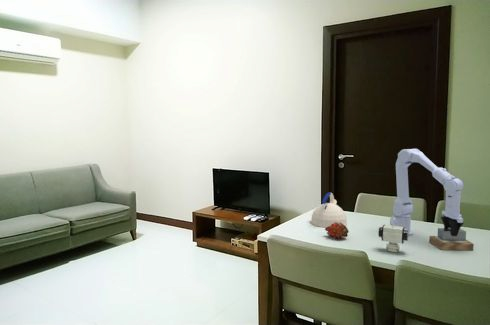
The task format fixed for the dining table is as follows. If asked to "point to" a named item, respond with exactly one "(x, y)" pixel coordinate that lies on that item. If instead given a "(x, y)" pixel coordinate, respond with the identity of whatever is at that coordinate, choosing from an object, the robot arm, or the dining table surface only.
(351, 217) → the dining table surface
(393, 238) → the pneumatic valve
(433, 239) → the stand
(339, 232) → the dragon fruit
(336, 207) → the kettle
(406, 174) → the robot arm
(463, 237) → the block
